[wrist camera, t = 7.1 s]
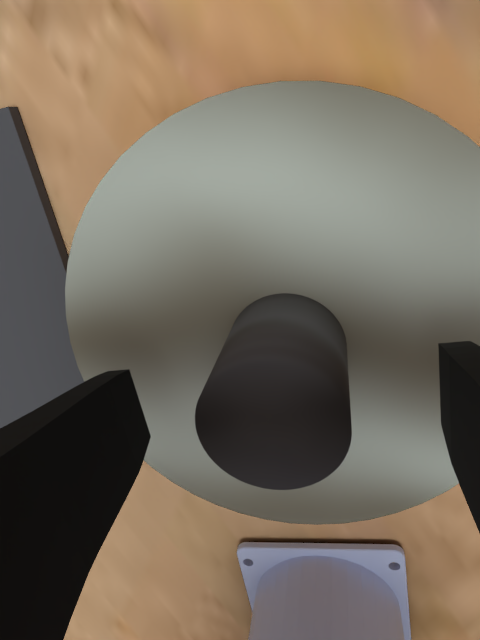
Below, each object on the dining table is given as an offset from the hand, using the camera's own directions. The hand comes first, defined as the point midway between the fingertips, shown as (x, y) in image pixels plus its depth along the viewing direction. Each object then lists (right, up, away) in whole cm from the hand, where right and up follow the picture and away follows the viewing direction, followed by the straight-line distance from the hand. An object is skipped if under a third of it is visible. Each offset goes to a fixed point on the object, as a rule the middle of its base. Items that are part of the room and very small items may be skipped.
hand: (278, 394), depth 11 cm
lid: (+1, +1, +3) cm, 3 cm away
